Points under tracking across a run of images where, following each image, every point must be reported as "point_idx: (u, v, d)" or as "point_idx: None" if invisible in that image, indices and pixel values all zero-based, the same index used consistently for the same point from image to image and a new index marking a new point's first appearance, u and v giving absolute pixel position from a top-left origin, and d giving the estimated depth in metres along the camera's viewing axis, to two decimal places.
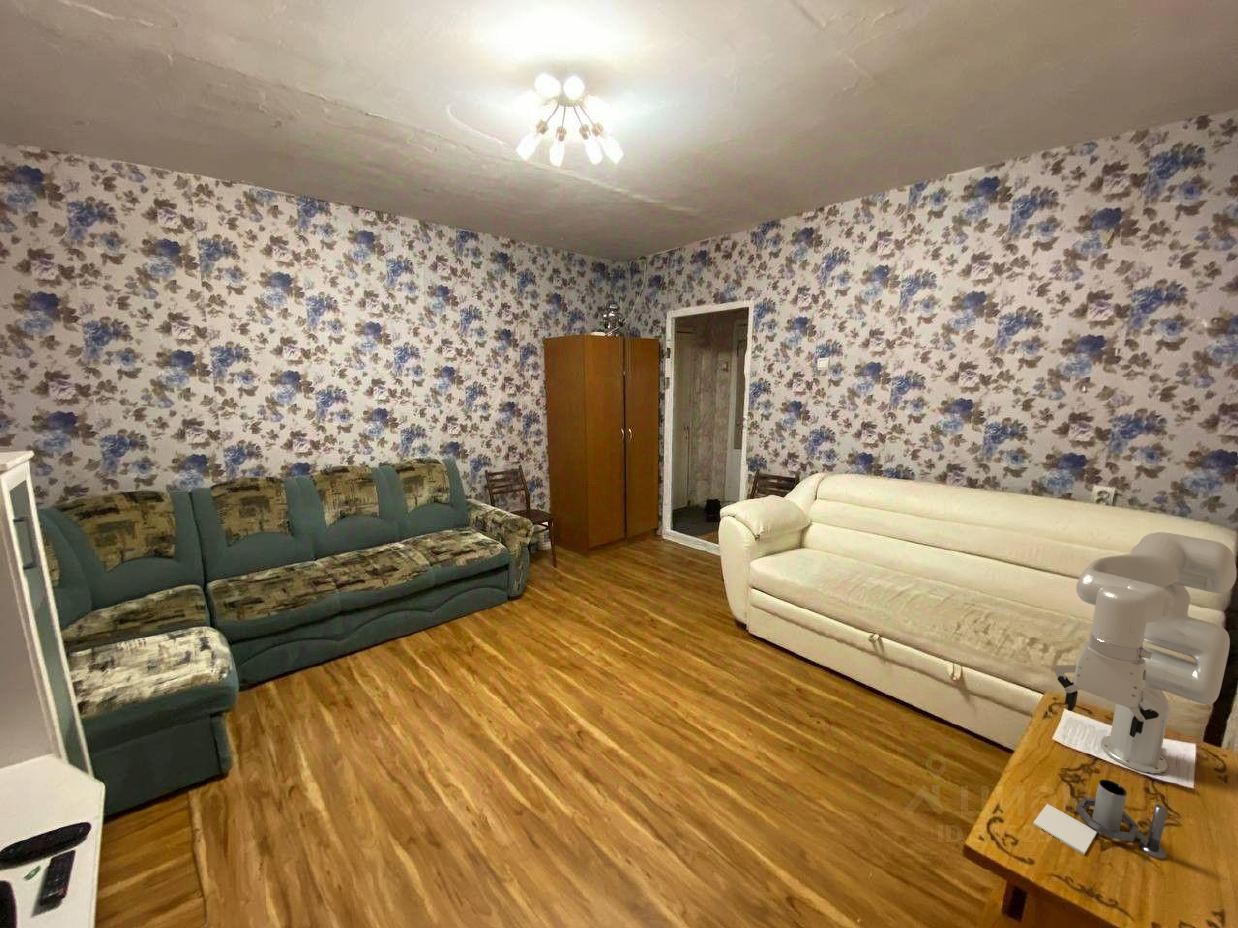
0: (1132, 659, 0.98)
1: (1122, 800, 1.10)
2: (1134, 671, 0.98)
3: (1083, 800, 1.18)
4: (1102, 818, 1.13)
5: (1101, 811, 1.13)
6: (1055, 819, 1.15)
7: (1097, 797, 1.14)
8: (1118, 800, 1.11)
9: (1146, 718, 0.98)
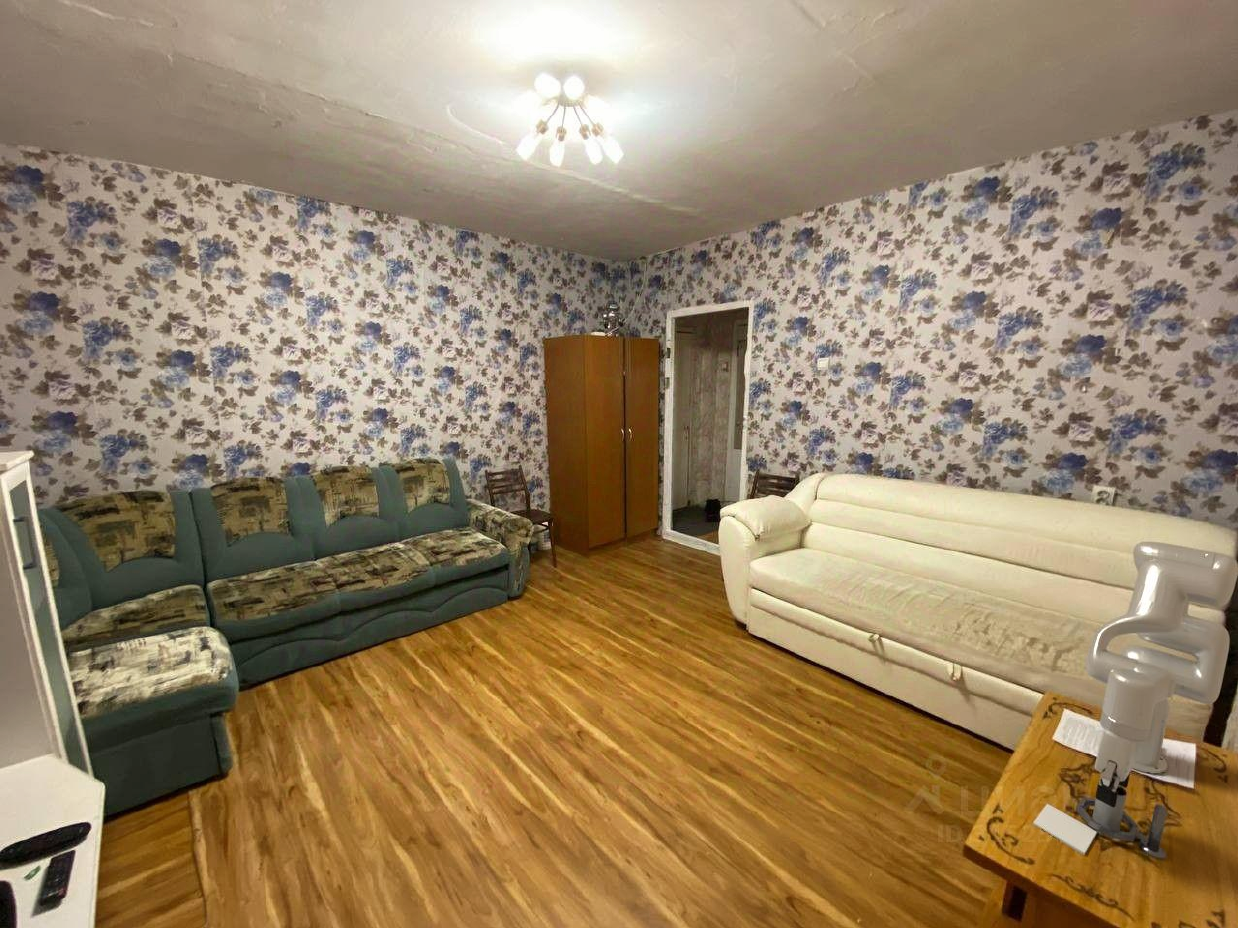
0: None
1: (1122, 800, 1.10)
2: None
3: (1083, 800, 1.18)
4: (1102, 818, 1.13)
5: (1101, 811, 1.13)
6: (1055, 819, 1.15)
7: None
8: (1118, 800, 1.11)
9: None
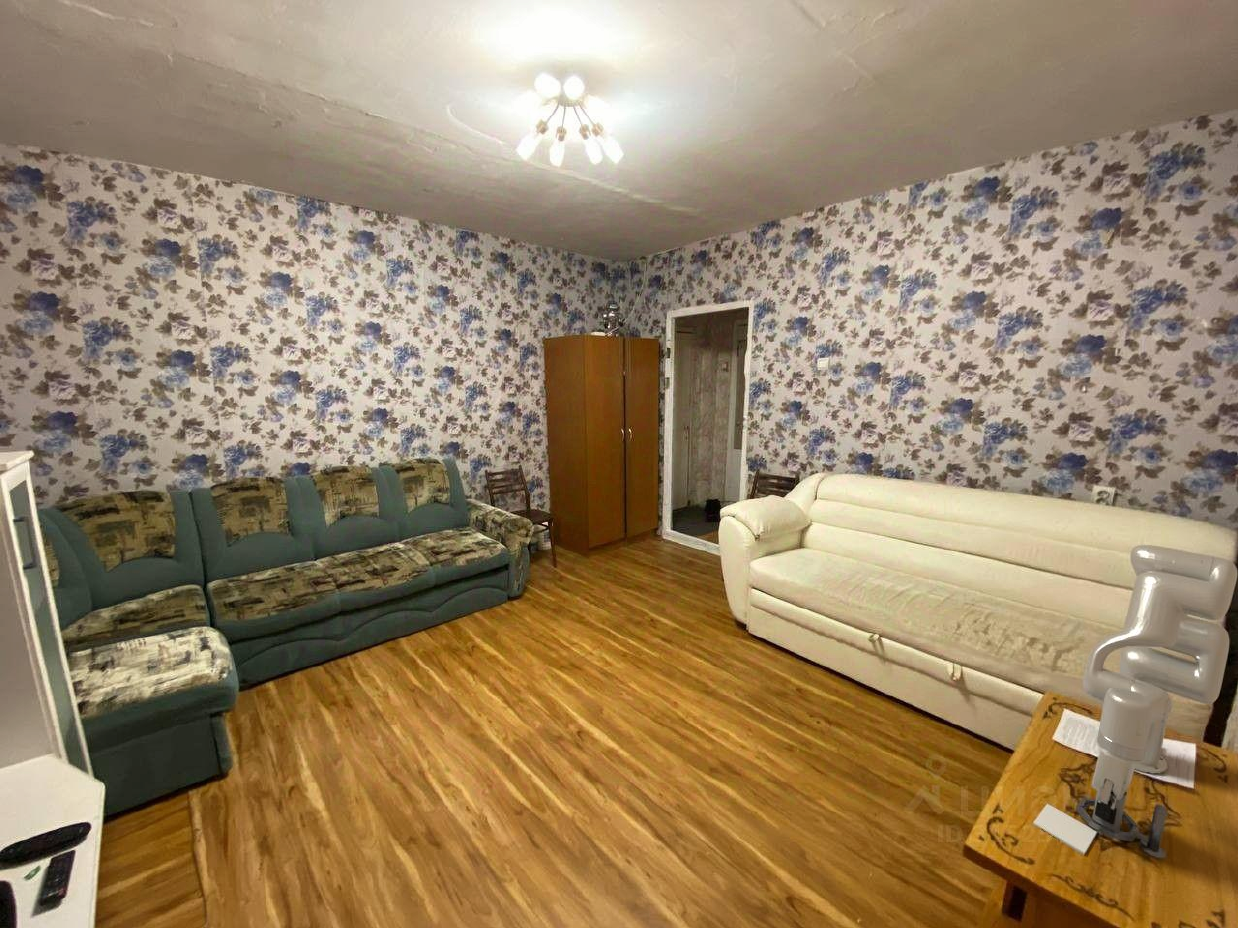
0: None
1: (1122, 800, 1.10)
2: None
3: (1083, 800, 1.18)
4: None
5: None
6: (1055, 819, 1.15)
7: (1097, 797, 1.14)
8: (1118, 800, 1.11)
9: None
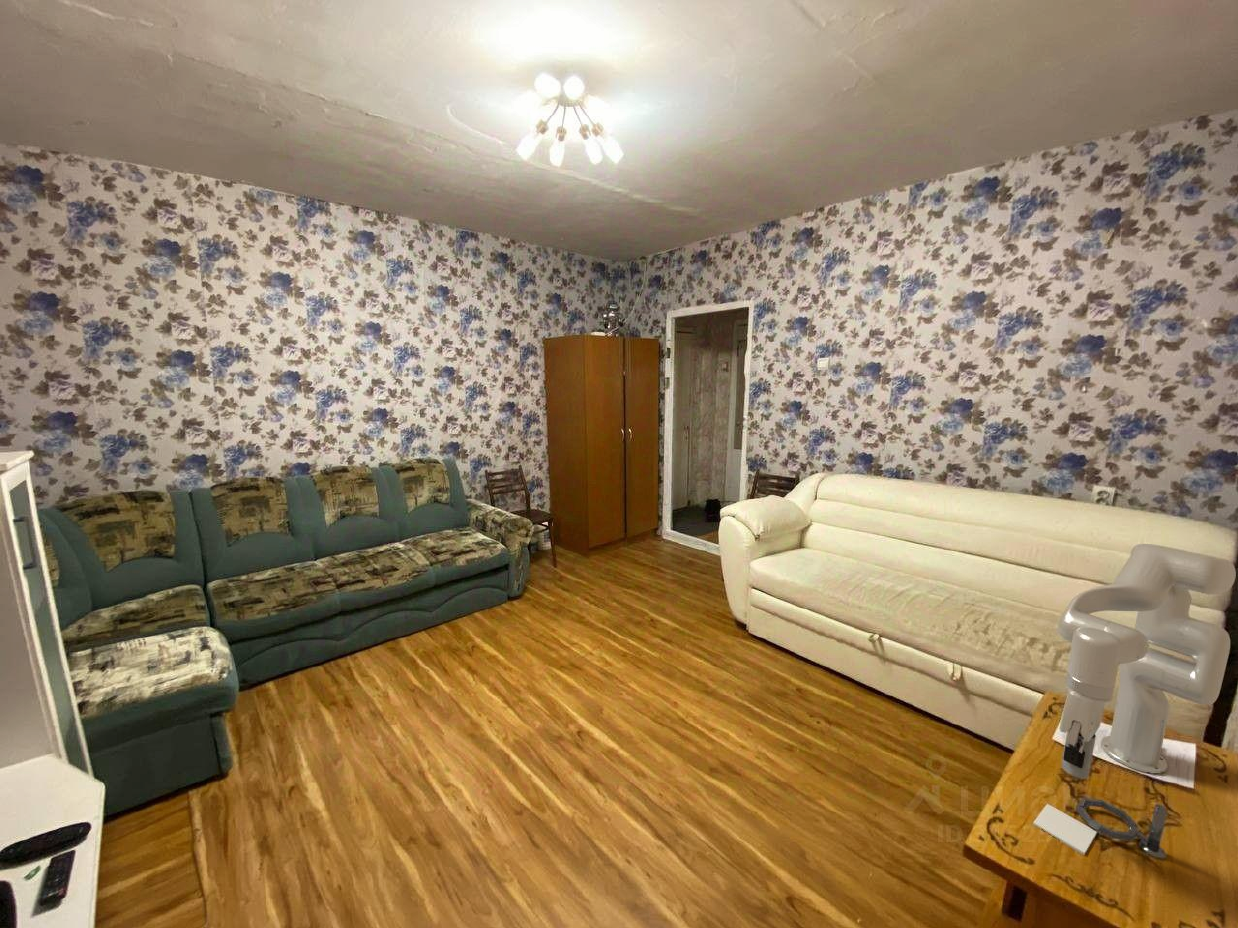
0: None
1: (1091, 743, 1.07)
2: None
3: (1083, 800, 1.18)
4: None
5: None
6: (1055, 819, 1.15)
7: None
8: (1087, 743, 1.07)
9: None
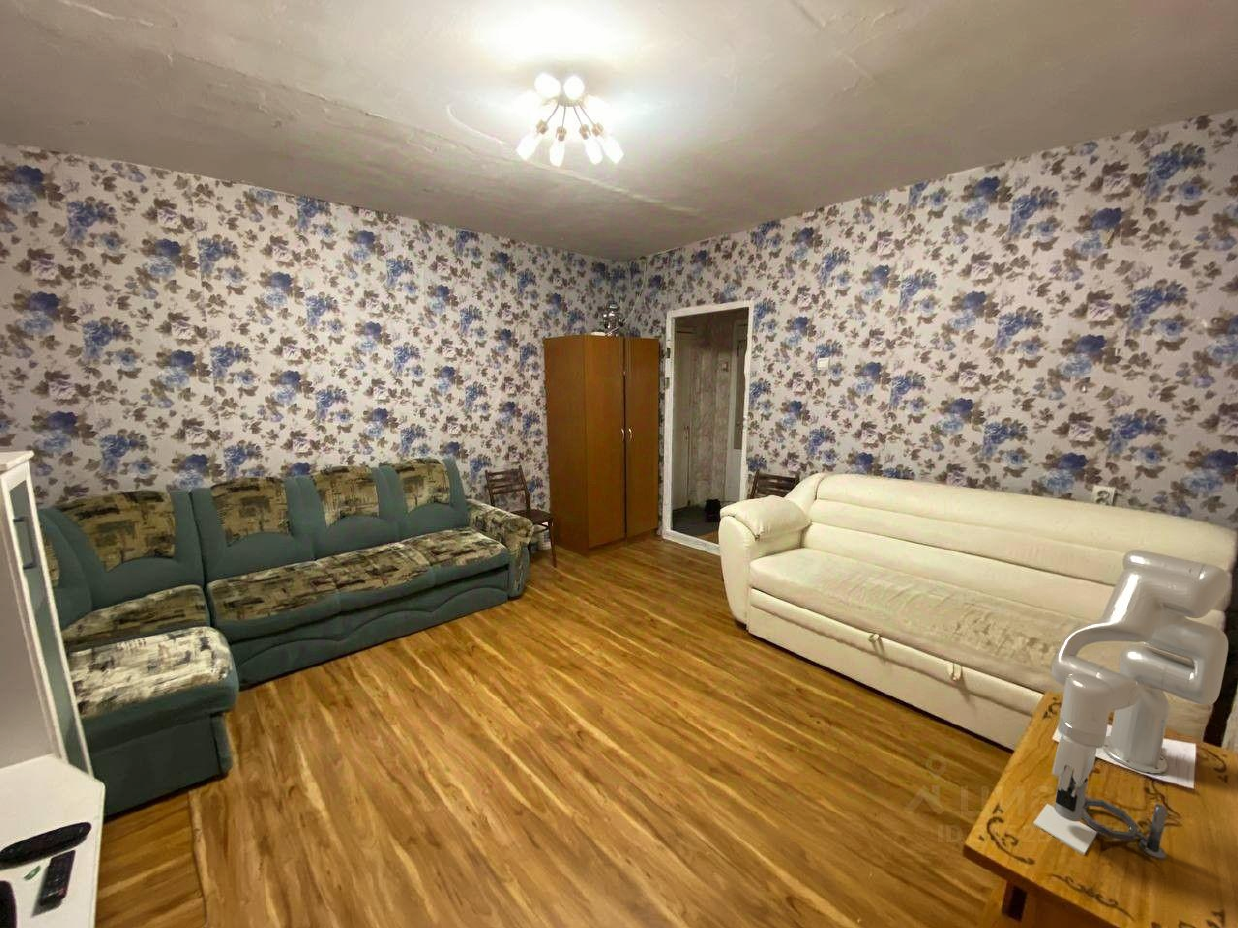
0: None
1: (1083, 787, 1.09)
2: None
3: None
4: None
5: None
6: (1055, 819, 1.15)
7: (1058, 785, 1.12)
8: (1079, 787, 1.09)
9: None
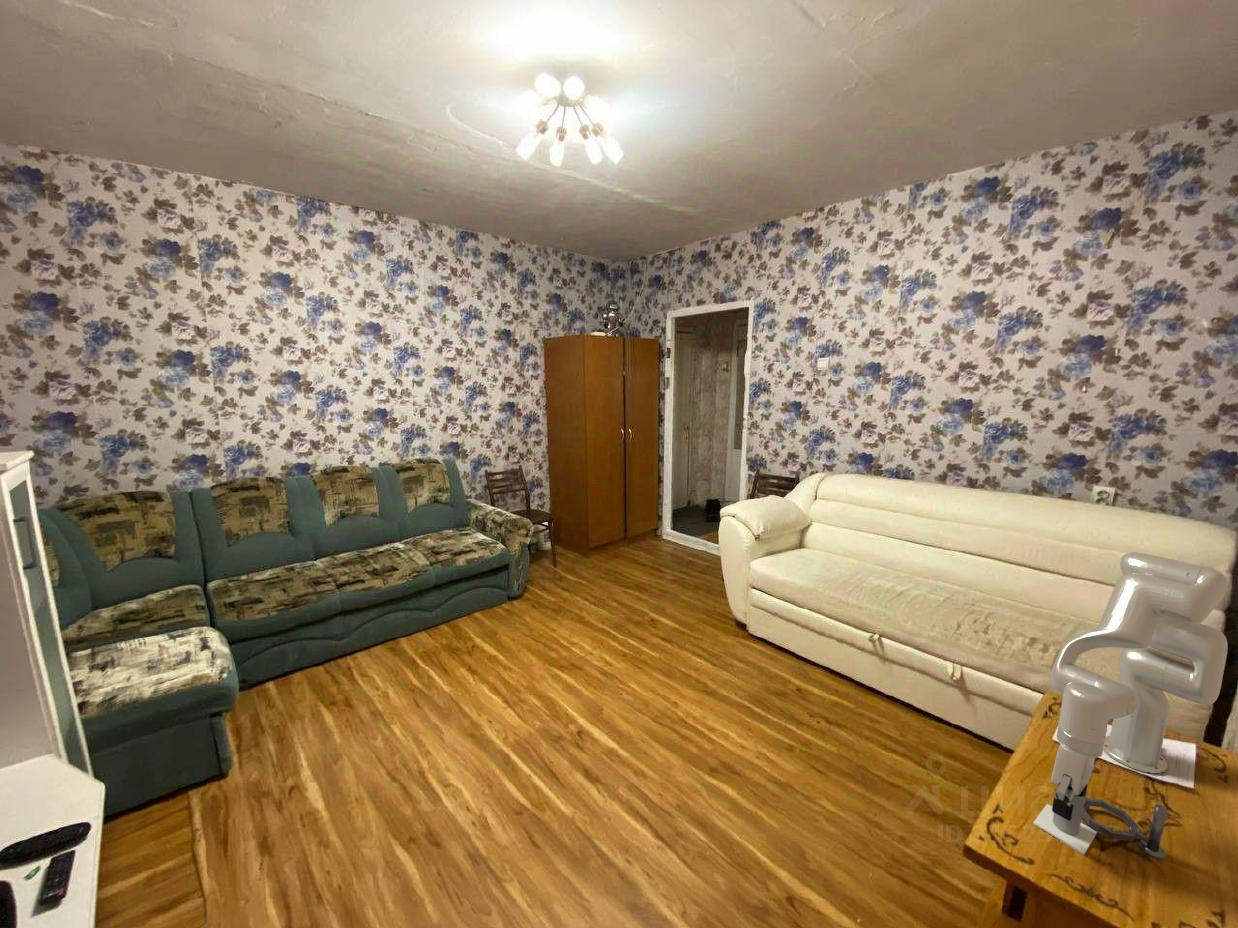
0: None
1: (1081, 801, 1.10)
2: None
3: None
4: (1062, 819, 1.12)
5: None
6: None
7: None
8: (1077, 801, 1.10)
9: None
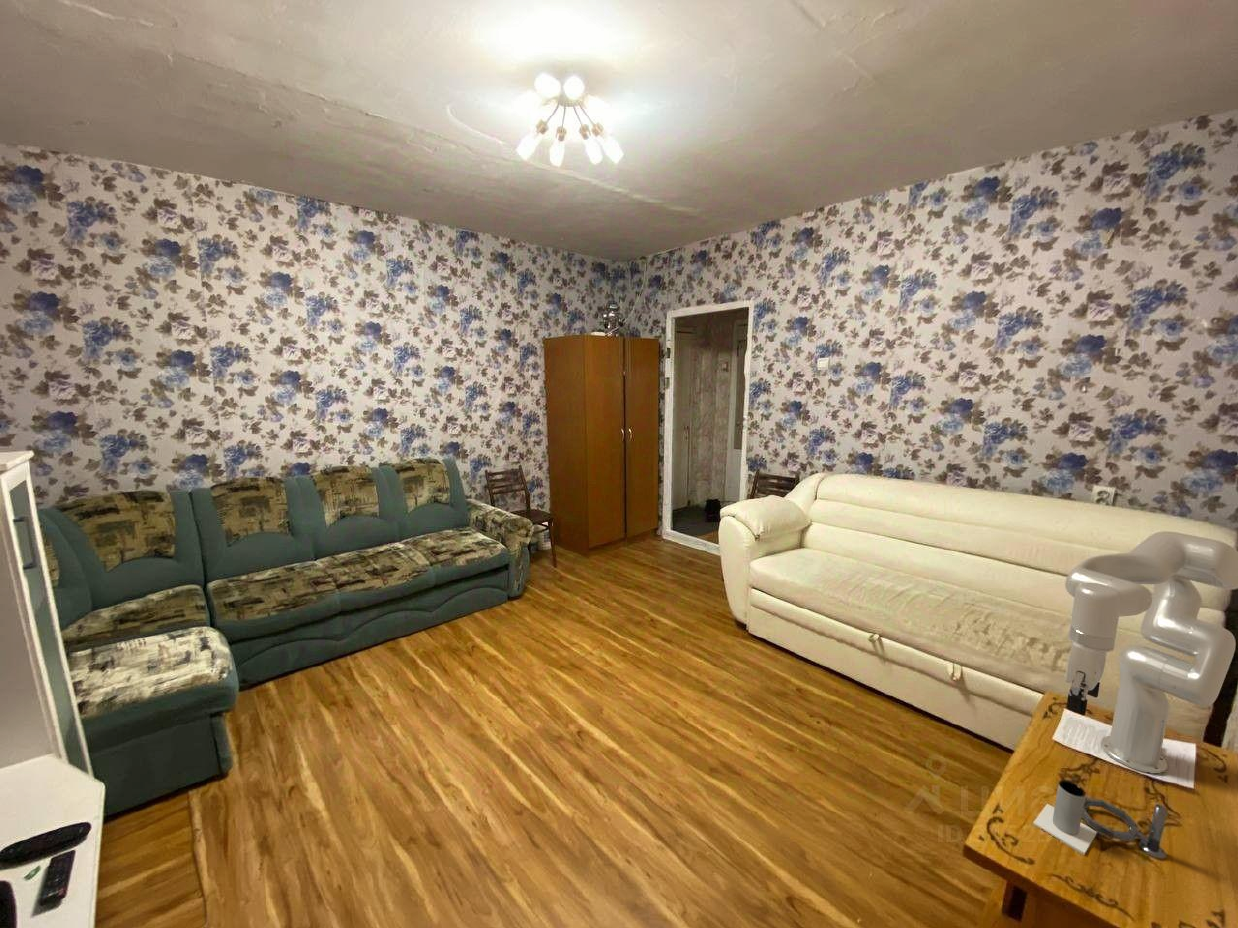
0: None
1: (1081, 801, 1.10)
2: None
3: None
4: (1062, 819, 1.12)
5: (1060, 812, 1.12)
6: None
7: (1056, 798, 1.13)
8: (1077, 801, 1.10)
9: None
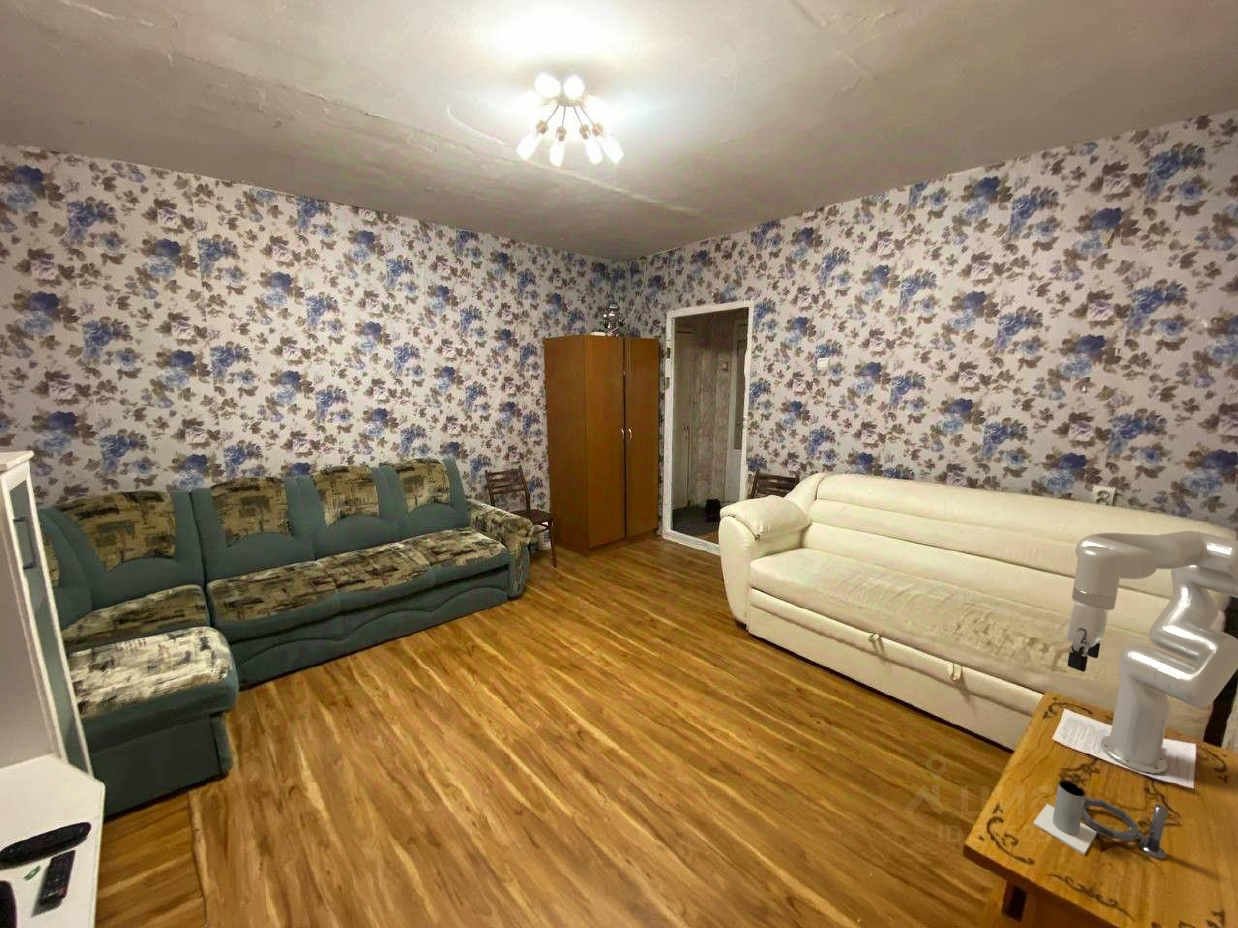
0: None
1: (1081, 801, 1.10)
2: None
3: None
4: (1062, 819, 1.12)
5: (1060, 812, 1.12)
6: None
7: (1056, 798, 1.13)
8: (1077, 801, 1.10)
9: None
